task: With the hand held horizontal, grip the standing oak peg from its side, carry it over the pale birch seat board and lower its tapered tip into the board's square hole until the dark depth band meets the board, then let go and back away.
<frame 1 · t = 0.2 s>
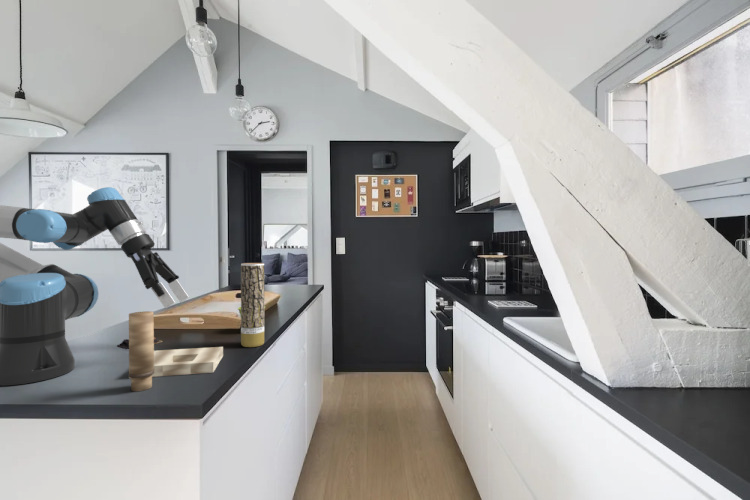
hand: (178, 302, 107), 14 cm above the countertop, tool tilted 35°, fingers open, 13 cm apart
peg: (141, 387, 80), on the countertop
board: (180, 366, 95), on the countertop
brown beetle: (140, 346, 116), on the countertop
paper tube: (252, 345, 115), on the countertop
plant pot: (251, 332, 133), on the countertop
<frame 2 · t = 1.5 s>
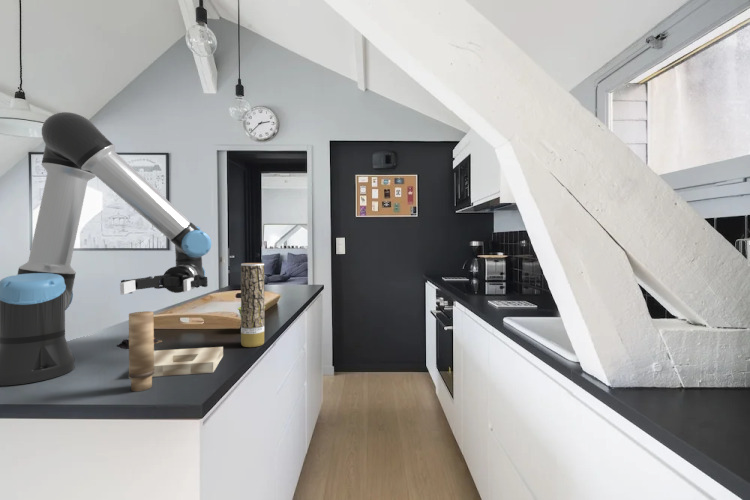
hand: (154, 287, 89), 21 cm above the countertop, tool horizontal, fingers open, 13 cm apart
nothing on the countertop moved.
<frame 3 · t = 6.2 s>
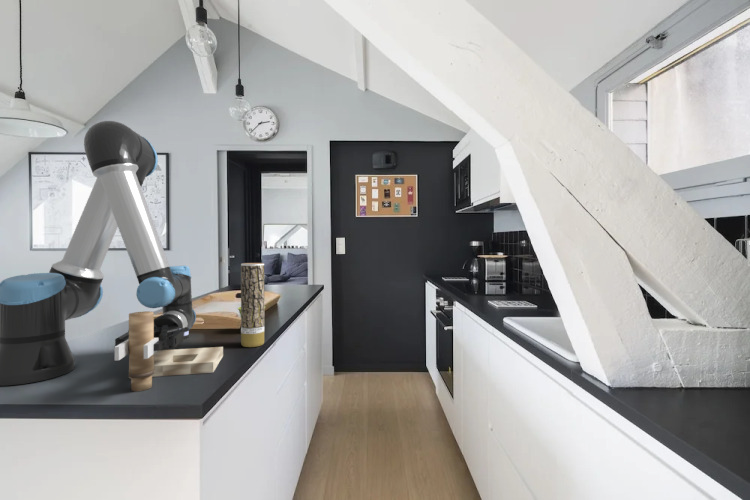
hand: (131, 352, 75), 9 cm above the countertop, tool horizontal, fingers closed on peg, 4 cm apart
peg: (141, 387, 80), on the countertop, touching gripper
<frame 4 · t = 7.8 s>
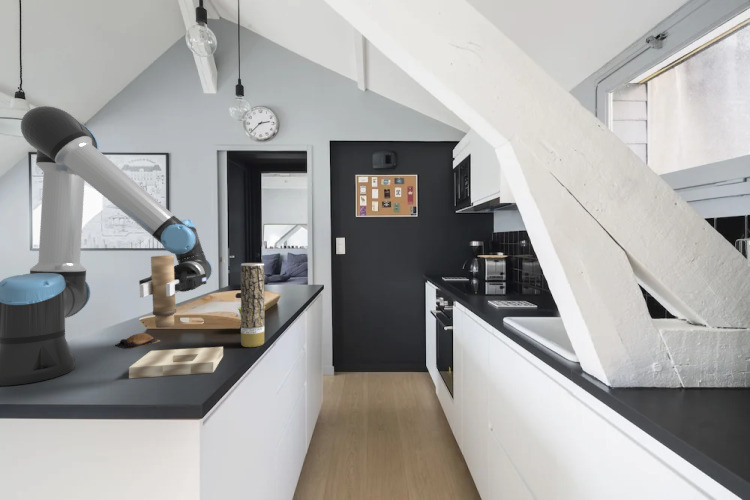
hand: (155, 290, 81), 21 cm above the countertop, tool horizontal, fingers closed on peg, 4 cm apart
peg: (165, 325, 86), point 12 cm above the countertop, touching gripper
when the fingers open (10 cm above the countertop, at t = 10.2 s): peg stays where it is, resting in board.
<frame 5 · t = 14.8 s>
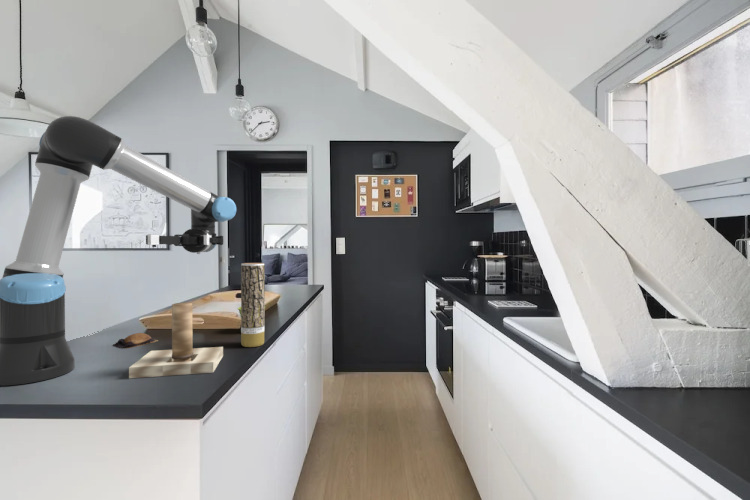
hand: (177, 239, 99), 32 cm above the countertop, tool horizontal, fingers open, 13 cm apart
peg: (182, 368, 93), resting in board
at the end: peg 0.0 cm from the target spot on the board, point 0.0 cm above the board's base; peg tilted 0°; the gripper is holding nothing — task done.
